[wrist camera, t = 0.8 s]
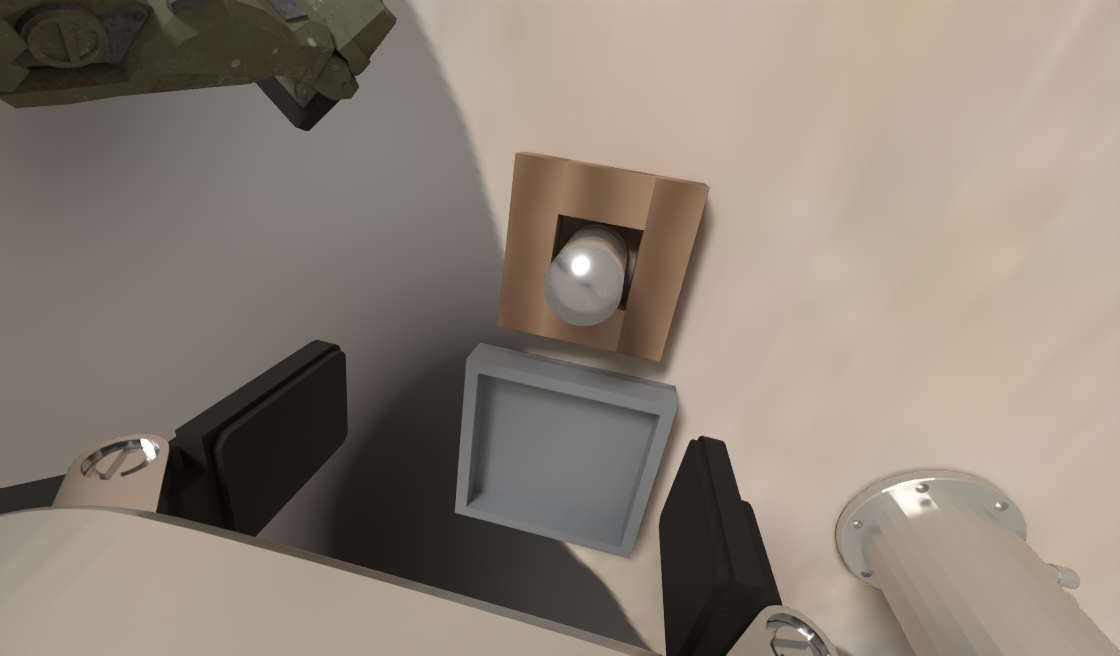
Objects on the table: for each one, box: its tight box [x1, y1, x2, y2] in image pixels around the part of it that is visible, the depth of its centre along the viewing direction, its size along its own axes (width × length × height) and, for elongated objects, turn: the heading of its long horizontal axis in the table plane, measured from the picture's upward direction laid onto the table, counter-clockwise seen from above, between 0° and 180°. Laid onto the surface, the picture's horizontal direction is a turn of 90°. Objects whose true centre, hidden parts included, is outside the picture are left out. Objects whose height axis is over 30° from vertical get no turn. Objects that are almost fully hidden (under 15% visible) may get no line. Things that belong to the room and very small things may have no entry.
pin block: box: [498, 152, 710, 362], centre depth 30 cm, size 12×12×2 cm
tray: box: [455, 343, 678, 558], centre depth 37 cm, size 16×16×3 cm
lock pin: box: [543, 224, 627, 326], centre depth 28 cm, size 4×4×8 cm
